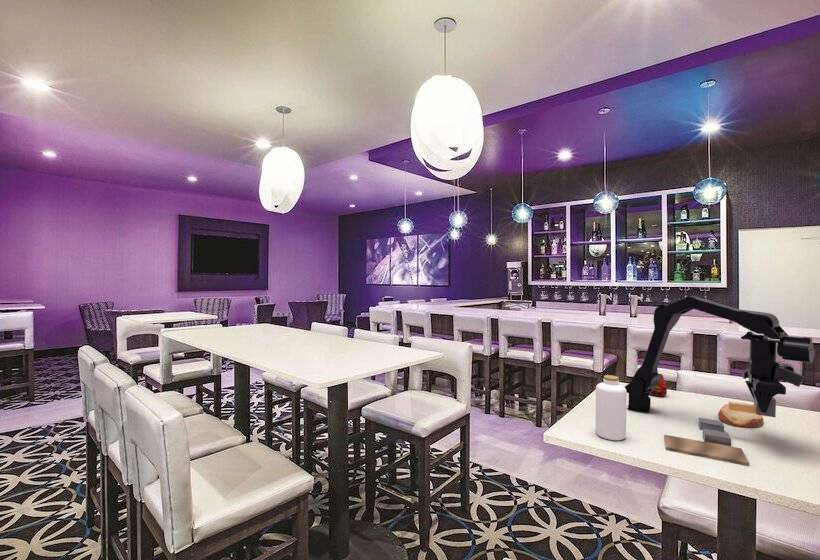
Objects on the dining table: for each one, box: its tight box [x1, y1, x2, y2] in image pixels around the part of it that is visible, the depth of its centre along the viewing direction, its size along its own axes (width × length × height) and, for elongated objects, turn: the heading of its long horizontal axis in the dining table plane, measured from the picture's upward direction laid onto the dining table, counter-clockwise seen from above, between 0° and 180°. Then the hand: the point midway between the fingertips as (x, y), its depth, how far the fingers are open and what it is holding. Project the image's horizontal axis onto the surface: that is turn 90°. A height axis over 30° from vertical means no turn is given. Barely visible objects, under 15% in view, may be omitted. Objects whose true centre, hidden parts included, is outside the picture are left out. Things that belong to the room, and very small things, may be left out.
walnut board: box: [663, 434, 750, 467], centre depth 110 cm, size 18×10×1 cm, turn 59°
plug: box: [728, 396, 777, 418], centre depth 116 cm, size 10×4×5 cm, turn 59°
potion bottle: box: [594, 374, 628, 441], centre depth 119 cm, size 8×8×18 cm
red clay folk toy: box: [648, 366, 668, 398], centre depth 161 cm, size 8×7×15 cm
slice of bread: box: [717, 403, 764, 430], centre depth 136 cm, size 18×18×4 cm
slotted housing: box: [697, 417, 732, 447], centre depth 120 cm, size 6×16×2 cm, turn 149°
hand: (761, 410), depth 115 cm, fingers closed on plug, 4 cm apart
